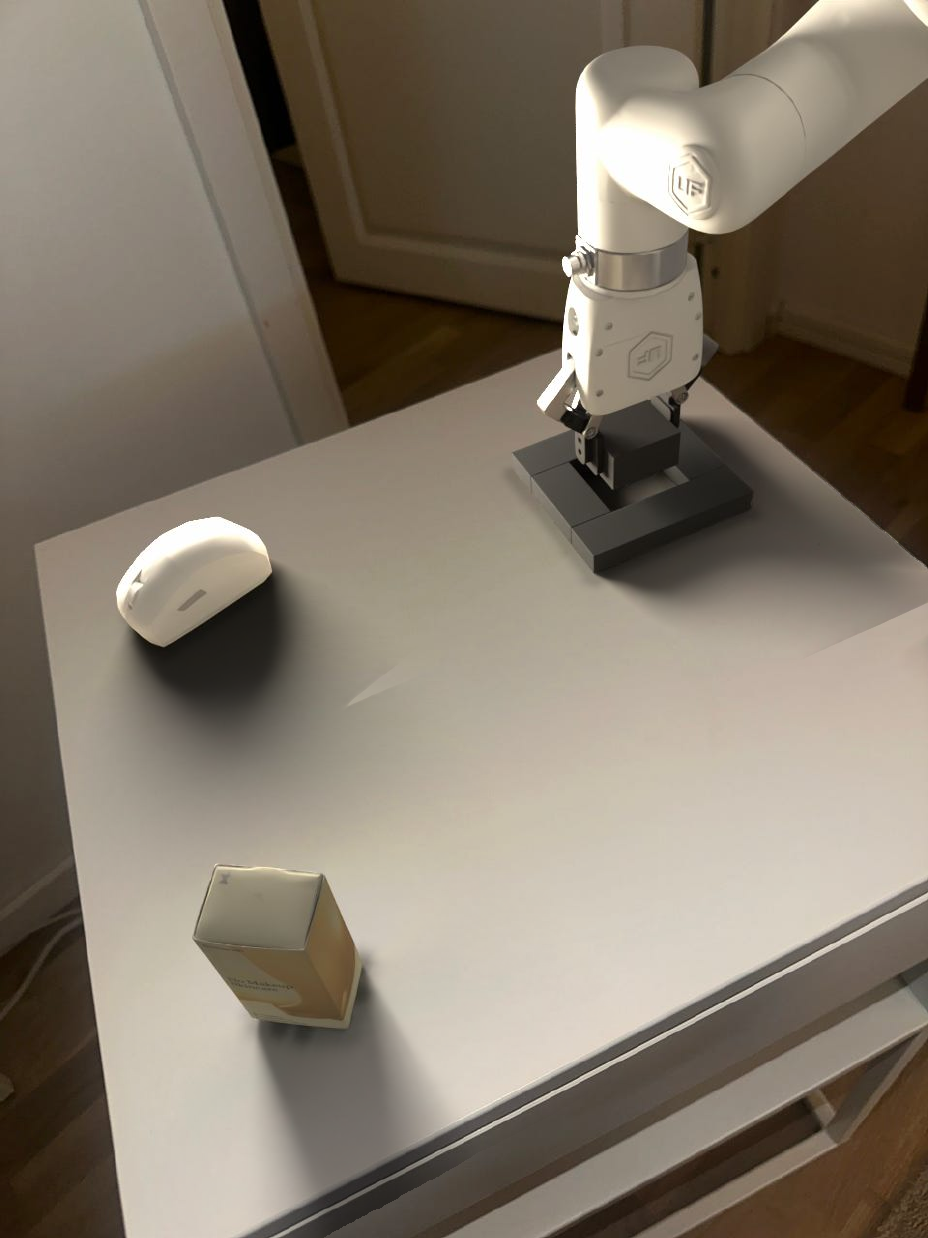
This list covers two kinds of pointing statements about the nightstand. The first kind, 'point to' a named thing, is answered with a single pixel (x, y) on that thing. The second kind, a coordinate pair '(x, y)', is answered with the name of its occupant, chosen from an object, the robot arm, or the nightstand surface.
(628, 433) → the dark grey square block
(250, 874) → the cosmetic box
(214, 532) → the computer mouse
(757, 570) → the nightstand surface
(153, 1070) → the nightstand surface
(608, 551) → the frame pad
